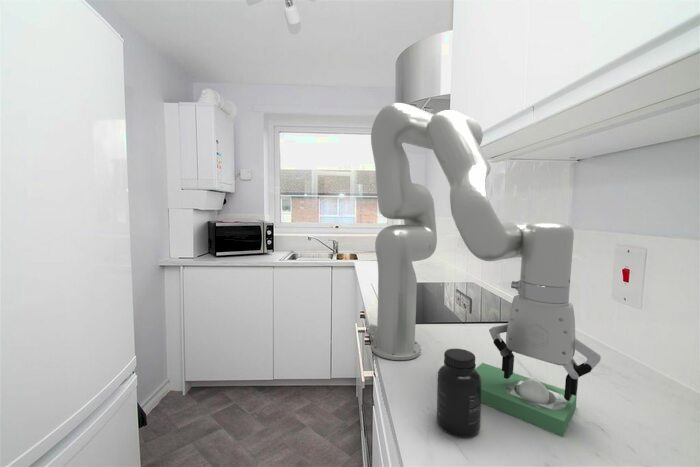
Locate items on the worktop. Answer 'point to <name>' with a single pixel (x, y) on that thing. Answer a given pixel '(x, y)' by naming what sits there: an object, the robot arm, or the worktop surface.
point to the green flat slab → (508, 400)
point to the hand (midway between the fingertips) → (536, 386)
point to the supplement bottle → (459, 394)
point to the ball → (534, 392)
